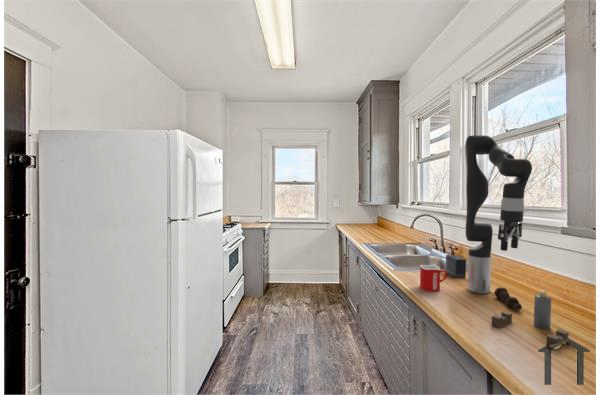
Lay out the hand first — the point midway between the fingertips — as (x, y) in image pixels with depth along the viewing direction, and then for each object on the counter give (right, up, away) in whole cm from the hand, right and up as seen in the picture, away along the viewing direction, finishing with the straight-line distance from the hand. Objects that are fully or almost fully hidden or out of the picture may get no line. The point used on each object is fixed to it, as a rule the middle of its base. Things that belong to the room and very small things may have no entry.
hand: (509, 249), depth 125 cm
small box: (+4, -23, +50) cm, 56 cm away
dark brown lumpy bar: (+6, -26, +9) cm, 28 cm away
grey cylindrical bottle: (+4, -26, -12) cm, 29 cm away
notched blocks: (-5, -27, -17) cm, 32 cm away
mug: (-18, -25, +29) cm, 42 cm away
